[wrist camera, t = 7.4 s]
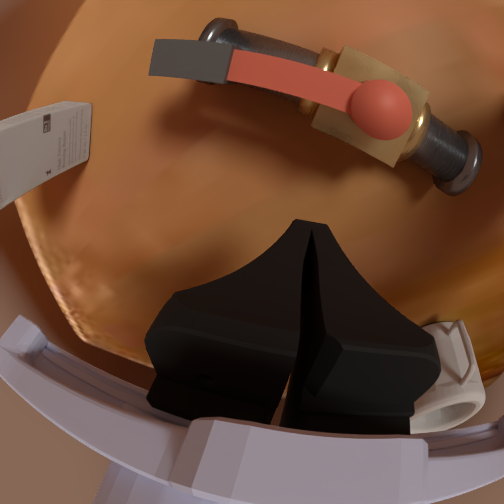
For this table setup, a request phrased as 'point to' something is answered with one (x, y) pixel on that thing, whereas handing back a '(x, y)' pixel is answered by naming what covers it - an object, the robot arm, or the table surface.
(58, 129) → the skincare box
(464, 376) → the mug
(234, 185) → the table surface
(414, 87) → the valve body
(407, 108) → the lever
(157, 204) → the table surface
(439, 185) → the pipe
